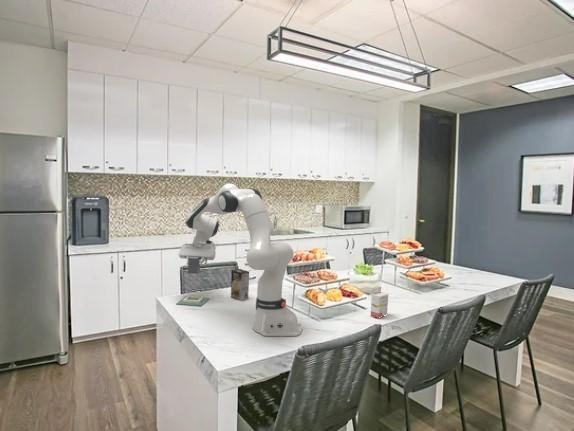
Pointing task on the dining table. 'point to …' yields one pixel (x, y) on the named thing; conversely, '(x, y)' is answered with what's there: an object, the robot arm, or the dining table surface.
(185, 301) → the board
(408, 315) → the dining table surface
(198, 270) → the plug
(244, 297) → the coffee box
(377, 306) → the ink cartridge box
